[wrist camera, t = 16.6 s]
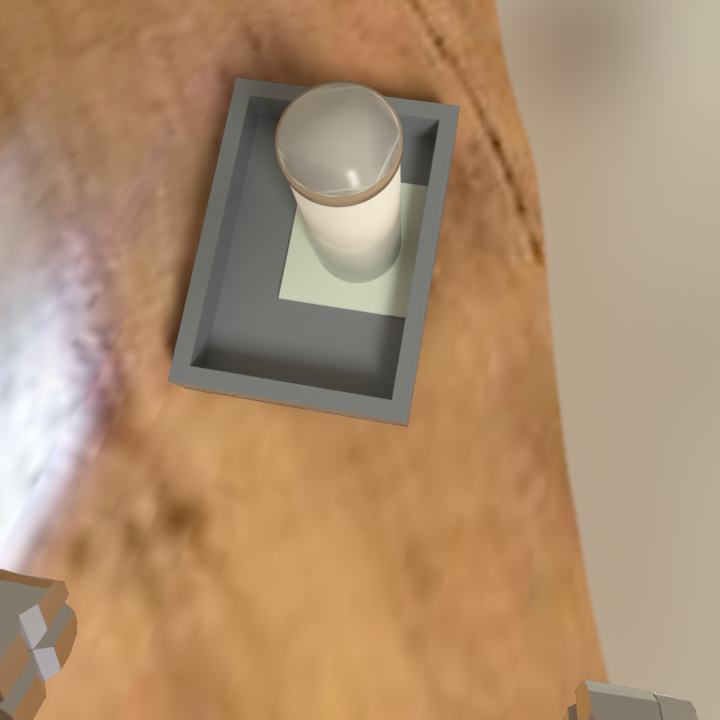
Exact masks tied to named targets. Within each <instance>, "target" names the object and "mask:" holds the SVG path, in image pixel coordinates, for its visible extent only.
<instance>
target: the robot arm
mask: <svg viewBox="0 0 720 720" xmlns="http://www.w3.org/2000/svg"><path fill="white" fill-rule="evenodd" d="M68 595H69V593H68V590H67V588H66V585H65V582H64V581H58V580H53V579H48V578H43V577H37V576H32V575H27V574H21V573H16V572H11V571H7V570H4V569H0V720H33V719H34V717H35V715H36V713H37V712H38V710H39V708H40V706H41V705H42V703H43V701H44V699H45V698H46V691H45V681H46V680H47V679H49V678H50V677H51V676H53V675H54V674H56V673H57V672H59V671H60V670H61V669H62V668H63V666H64V664H65V662H66V660H67V658H68V657H69V655H70V653H71V650H72V647H73V644H74V640H75V637H76V634H77V619H76V615H75V612H74V610H72V609H71V608H70V607H69V606H68V605H67V604H66V603H65V600H66V599H67V597H68ZM575 695H576V704H574V705H572V706H570V707H568V709H567V711H566V714H565V716H564V719H563V720H698V717H697V713H696V709H695V708H694V706H693V705H692V703H691V702H690V701H689V700H687V699H685V698H681V697H675V696H670V695H664V694H659V693H654V692H651V691H645V690H640V689H634V688H628V687H622V686H616V685H611V684H605V683H599V682H593V681H587V680H583V681H581V682H579V684H578V687H577V689H576V691H575Z"/></svg>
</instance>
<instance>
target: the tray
mask: <svg viewBox="0 0 720 720" xmlns="http://www.w3.org/2000/svg"><path fill="white" fill-rule="evenodd" d="M309 88H311V87H307V86H299V85H291V84H283V83H275V82H267V81H260V80H252V79H244V78H236V81H235V86H234V90H233V95H232V99H231V103H230V108H229V112H228V117H227V121H226V126H225V130H224V134H223V139H222V143H221V148H220V152H219V157H218V161H217V165H216V170H215V174H214V179H213V183H212V188H211V192H210V196H209V201H208V205H207V210H206V214H205V219H204V223H203V227H202V232H201V236H200V241H199V245H198V250H197V254H196V258H195V263H194V267H193V272H192V276H191V281H190V285H189V289H188V294H187V298H186V303H185V307H184V312H183V316H182V320H181V325H180V329H179V334H178V338H177V343H176V347H175V351H174V356H173V360H172V365H171V369H170V374H169V378H168V381H169V382H171V383H174V384H176V385H179V386H181V387H183V388H186V389H192V390H197V391H203V392H209V393H215V394H221V395H226V396H232V397H238V398H244V399H250V400H255V401H261V402H267V403H273V404H279V405H285V406H290V407H296V408H302V409H308V410H314V411H319V412H325V413H331V414H337V415H343V416H348V417H354V418H360V419H366V420H372V421H377V422H383V423H389V424H395V425H401V426H406V427H407V426H408V420H409V413H410V407H411V401H412V395H413V389H414V383H415V377H416V371H417V365H418V359H419V353H420V347H421V341H422V335H423V329H424V323H425V317H426V311H427V305H428V299H429V293H430V287H431V281H432V274H433V268H434V262H435V256H436V250H437V244H438V238H439V232H440V226H441V220H442V214H443V208H444V202H445V196H446V190H447V184H448V178H449V172H450V166H451V160H452V154H453V148H454V142H455V136H456V129H457V122H458V116H459V109H460V106H456V105H448V104H441V103H433V102H425V101H417V100H409V99H401V98H393V97H385V96H384V97H385V98H386V99H387V100H388V101H389V102H390V103H391V105H392V106H393V108H394V109H395V111H396V113H397V115H398V117H399V120H400V123H401V127H402V138H403V150H402V158H401V162H400V177H401V249H400V253H399V255H398V258H397V260H396V262H395V263H394V265H393V266H392V267H391V268H390V269H389V271H388V272H386V273H385V274H384V275H382V276H381V277H379V278H377V279H375V280H372V281H369V282H364V283H350V282H345V281H342V280H340V279H338V278H336V277H334V276H333V275H331V274H330V273H329V272H328V271H327V270H326V269H325V268H324V267H323V266H322V264H321V262H320V260H319V258H318V256H317V253H316V251H315V248H314V246H313V243H312V240H311V238H310V235H309V233H308V230H307V227H306V225H305V222H304V220H303V217H302V214H301V212H300V209H299V207H298V204H297V201H296V199H295V196H294V194H293V191H292V189H291V186H290V184H289V183H288V181H287V179H286V178H285V176H284V174H283V172H282V169H281V167H280V164H279V162H278V158H277V155H276V149H275V136H276V130H277V126H278V123H279V121H280V118H281V116H282V114H283V113H284V111H285V109H286V108H287V107H288V106H289V104H290V103H291V102H292V101H293V100H294V99H295V98H296V97H297V96H299V95H300V94H301V93H303V92H304V91H306V90H308V89H309Z"/></svg>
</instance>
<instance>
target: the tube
mask: <svg viewBox="0 0 720 720" xmlns="http://www.w3.org/2000/svg"><path fill="white" fill-rule="evenodd" d="M275 149H276V155H277V158H278V162H279V164H280V167H281V169H282V172H283V174H284V176H285V178H286V179H287V181H288V183H289V184H290V186H291V189H292V191H293V194H294V196H295V199H296V201H297V204H298V207H299V209H300V212H301V214H302V217H303V220H304V222H305V225H306V227H307V230H308V233H309V235H310V238H311V240H312V243H313V246H314V248H315V251H316V253H317V256H318V258H319V260H320V262H321V264H322V266H323V267H324V268H325V269H326V270H327V271H328V272H329V273H330V274H331V275H333V276H334V277H336V278H338V279H340V280H342V281H345V282H350V283H364V282H369V281H372V280H375V279H377V278H379V277H381V276H382V275H384V274H385V273H386V272H388V271H389V269H390V268H391V267H392V266H393V265H394V263H395V262H396V260H397V258H398V255H399V253H400V249H401V177H400V162H401V158H402V150H403V138H402V127H401V123H400V120H399V117H398V115H397V113H396V111H395V109H394V108H393V106H392V105H391V103H390V102H389V101H388V100H387V99H386V98H385V97H384V96H383V95H382V94H380V93H379V92H377V91H376V90H374V89H373V88H371V87H368V86H366V85H364V84H360V83H357V82H352V81H331V82H325V83H322V84H319V85H316V86H314V87H311V88H309V89H308V90H306V91H304V92H303V93H301V94H300V95H299V96H297V97H296V98H295V99H294V100H293V101H292V102H291V103H290V104H289V106H288V107H287V108H286V109H285V111H284V113H283V114H282V116H281V118H280V121H279V123H278V126H277V130H276V136H275Z"/></svg>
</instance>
